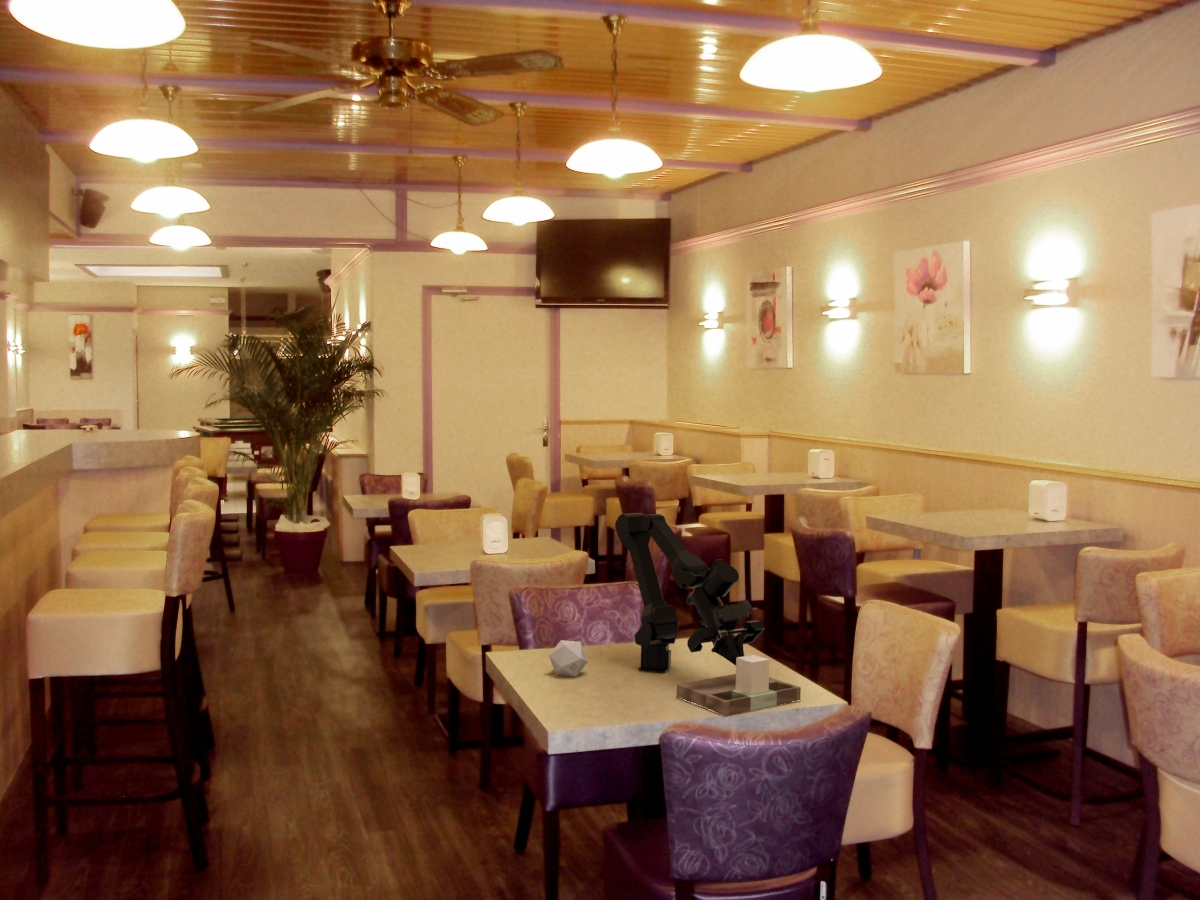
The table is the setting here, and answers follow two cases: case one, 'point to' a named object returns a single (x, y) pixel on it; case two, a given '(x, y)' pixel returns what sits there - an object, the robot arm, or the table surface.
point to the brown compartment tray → (735, 695)
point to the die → (568, 658)
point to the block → (752, 674)
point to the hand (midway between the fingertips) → (743, 668)
